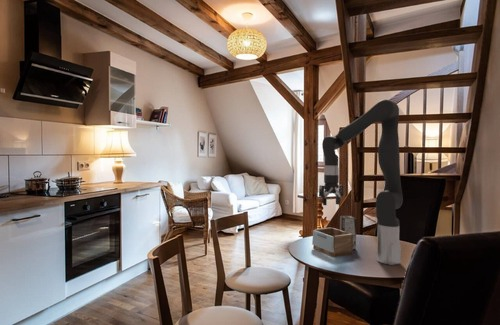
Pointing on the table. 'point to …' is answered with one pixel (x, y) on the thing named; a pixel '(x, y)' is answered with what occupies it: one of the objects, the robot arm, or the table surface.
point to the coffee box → (349, 226)
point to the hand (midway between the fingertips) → (331, 204)
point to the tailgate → (323, 241)
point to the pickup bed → (338, 242)
